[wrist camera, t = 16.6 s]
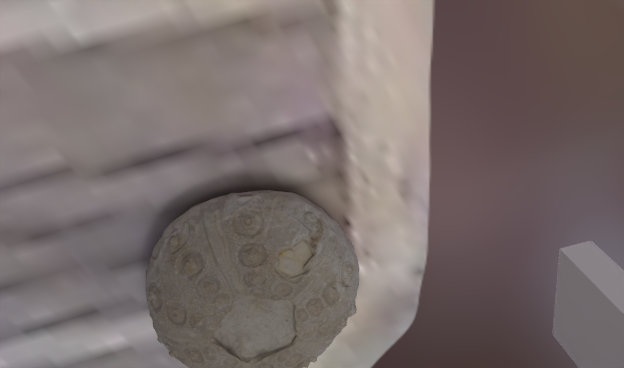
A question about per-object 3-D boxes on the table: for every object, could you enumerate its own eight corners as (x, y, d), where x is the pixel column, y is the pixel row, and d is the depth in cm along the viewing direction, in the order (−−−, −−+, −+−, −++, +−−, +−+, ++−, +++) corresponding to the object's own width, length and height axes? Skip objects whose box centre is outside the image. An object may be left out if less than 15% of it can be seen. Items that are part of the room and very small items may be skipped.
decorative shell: (158, 156, 43) (148, 223, 35) (366, 179, 48) (402, 244, 39) (143, 324, 51) (131, 412, 43) (322, 330, 56) (344, 412, 47)
